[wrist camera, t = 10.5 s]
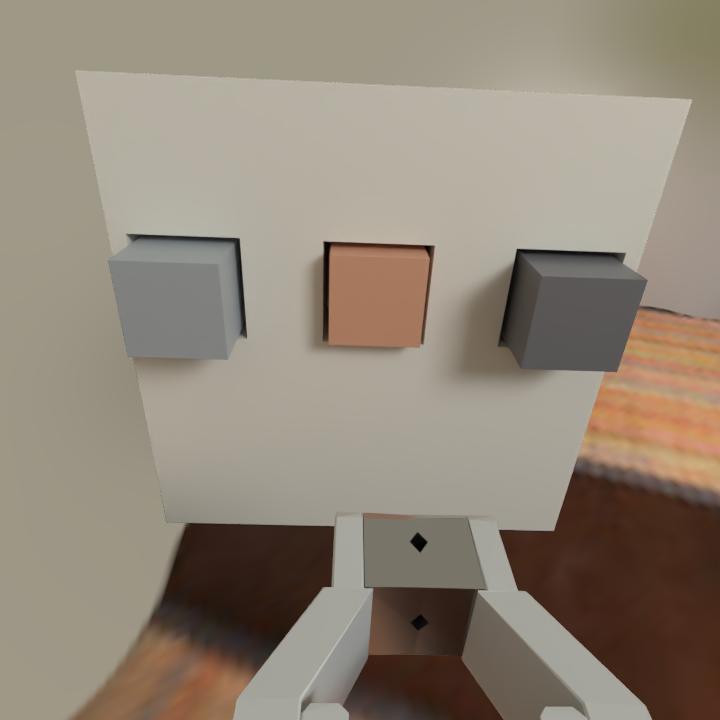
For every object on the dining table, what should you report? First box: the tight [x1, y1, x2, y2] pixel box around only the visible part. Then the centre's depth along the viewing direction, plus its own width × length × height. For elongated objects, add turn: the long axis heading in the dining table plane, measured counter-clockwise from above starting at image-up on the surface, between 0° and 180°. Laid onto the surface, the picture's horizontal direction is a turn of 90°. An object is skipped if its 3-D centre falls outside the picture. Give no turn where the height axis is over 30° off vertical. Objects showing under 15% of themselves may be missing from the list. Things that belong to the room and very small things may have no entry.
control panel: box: [75, 70, 692, 531], centre depth 25 cm, size 5×22×22 cm, turn 91°
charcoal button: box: [500, 249, 647, 372], centre depth 21 cm, size 4×4×4 cm
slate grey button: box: [108, 234, 246, 360], centre depth 21 cm, size 4×4×4 cm
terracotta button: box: [329, 242, 430, 348], centre depth 23 cm, size 4×4×4 cm
